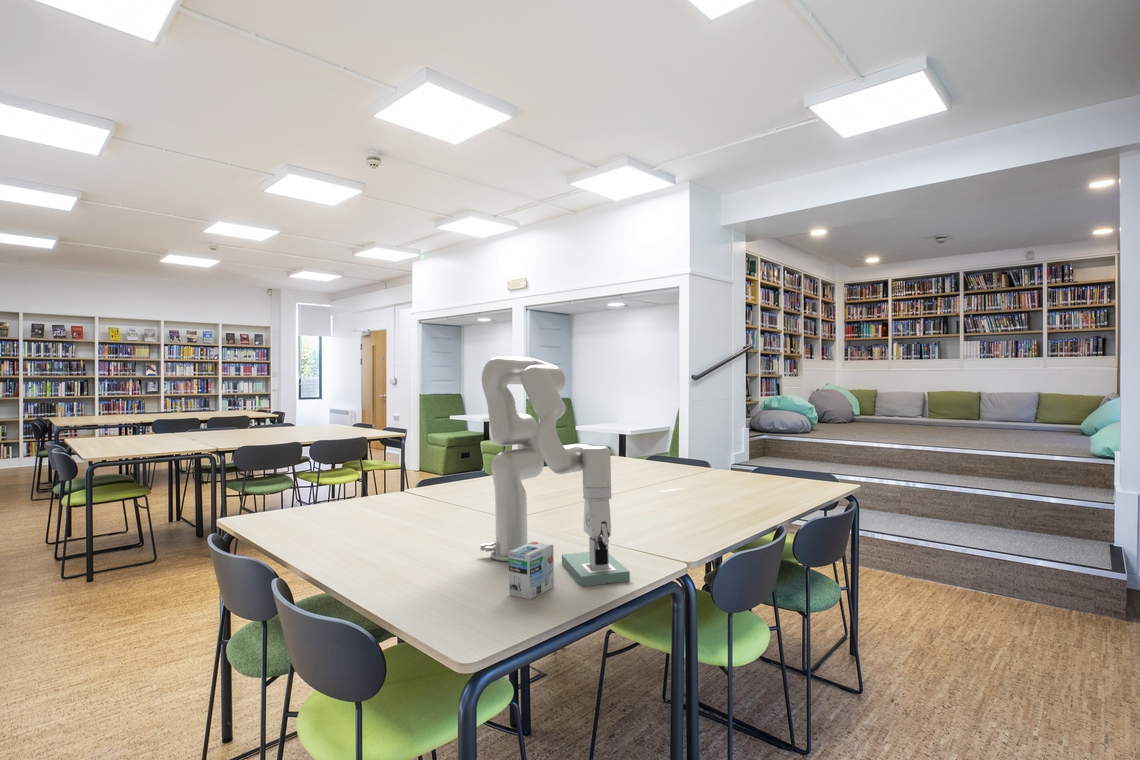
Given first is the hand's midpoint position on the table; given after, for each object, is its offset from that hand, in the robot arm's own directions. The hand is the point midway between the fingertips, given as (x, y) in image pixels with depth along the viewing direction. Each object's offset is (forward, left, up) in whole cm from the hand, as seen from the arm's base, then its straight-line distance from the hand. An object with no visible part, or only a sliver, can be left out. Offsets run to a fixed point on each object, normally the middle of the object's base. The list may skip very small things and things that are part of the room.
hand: (598, 561), depth 149 cm
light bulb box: (-19, -5, -4) cm, 20 cm away
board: (0, +4, -4) cm, 6 cm away
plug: (0, 0, -2) cm, 2 cm away
